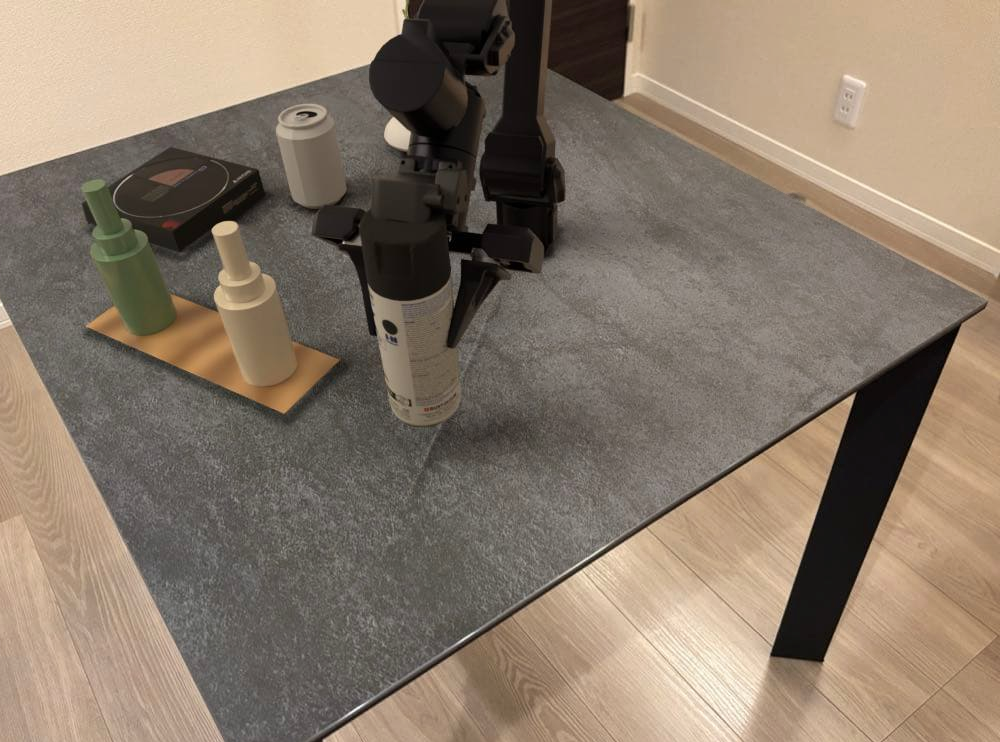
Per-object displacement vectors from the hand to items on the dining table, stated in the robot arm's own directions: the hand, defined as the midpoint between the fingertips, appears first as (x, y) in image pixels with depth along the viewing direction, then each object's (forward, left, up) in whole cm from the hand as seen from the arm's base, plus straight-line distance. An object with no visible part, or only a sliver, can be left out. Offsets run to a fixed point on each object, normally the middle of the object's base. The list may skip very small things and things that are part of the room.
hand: (411, 341), depth 69 cm
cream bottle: (-20, +6, -12) cm, 24 cm away
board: (-28, +9, -13) cm, 32 cm away
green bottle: (-37, +11, -12) cm, 40 cm away
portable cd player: (-47, +34, -13) cm, 59 cm away
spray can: (0, +2, -9) cm, 9 cm away
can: (-29, +40, -13) cm, 52 cm away
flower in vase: (-20, +59, -13) cm, 63 cm away
